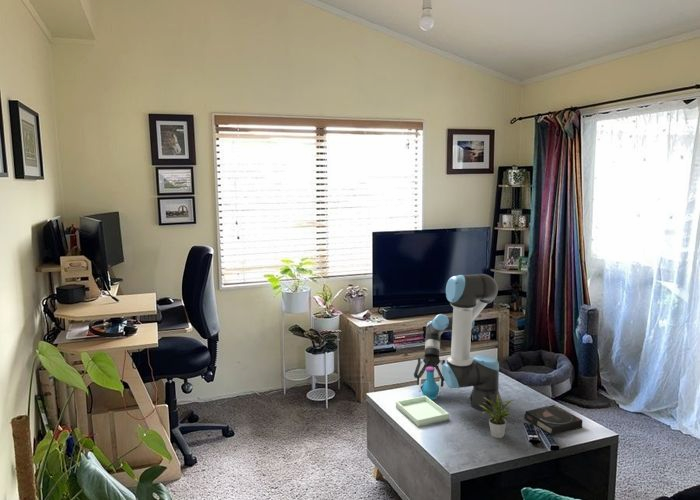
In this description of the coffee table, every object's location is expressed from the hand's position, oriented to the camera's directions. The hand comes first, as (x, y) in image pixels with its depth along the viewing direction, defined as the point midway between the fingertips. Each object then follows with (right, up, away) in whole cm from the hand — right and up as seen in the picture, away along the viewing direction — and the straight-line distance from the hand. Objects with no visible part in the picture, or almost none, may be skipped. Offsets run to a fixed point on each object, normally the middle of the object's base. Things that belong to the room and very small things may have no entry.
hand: (429, 391), depth 253 cm
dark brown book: (+50, -7, -26) cm, 57 cm away
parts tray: (-6, -6, -14) cm, 17 cm away
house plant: (+24, -8, -34) cm, 43 cm away
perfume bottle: (+1, -4, +4) cm, 5 cm away
